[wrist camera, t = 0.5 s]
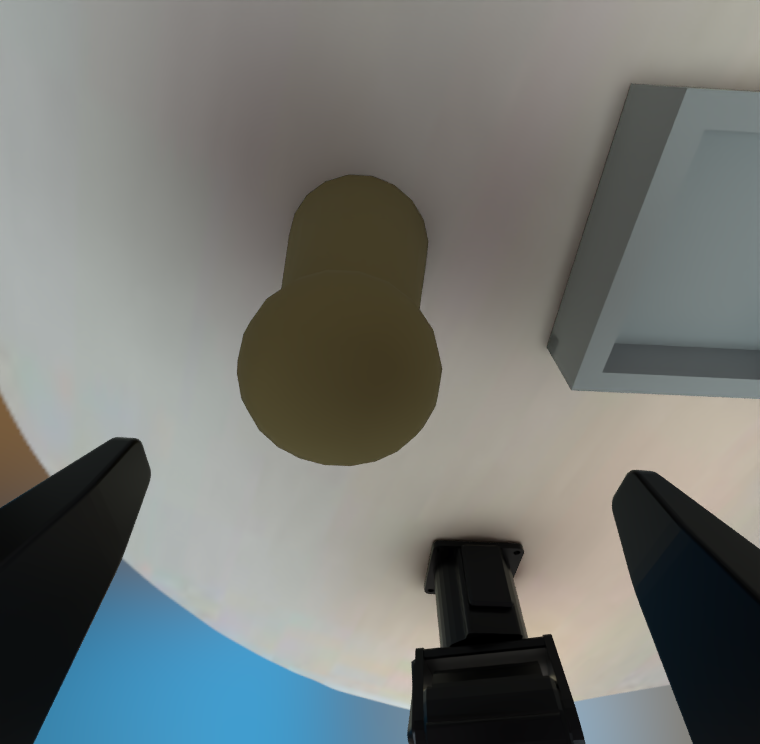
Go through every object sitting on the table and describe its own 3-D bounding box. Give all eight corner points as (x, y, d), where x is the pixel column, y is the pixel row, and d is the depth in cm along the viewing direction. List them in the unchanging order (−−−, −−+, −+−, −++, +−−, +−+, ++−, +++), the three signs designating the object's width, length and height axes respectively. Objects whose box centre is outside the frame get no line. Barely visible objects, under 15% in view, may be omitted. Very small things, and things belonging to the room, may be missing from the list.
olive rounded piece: (268, 273, 20) (169, 449, 11) (325, 143, 17) (255, 236, 8) (384, 331, 21) (383, 526, 12) (455, 223, 18) (524, 376, 9)
